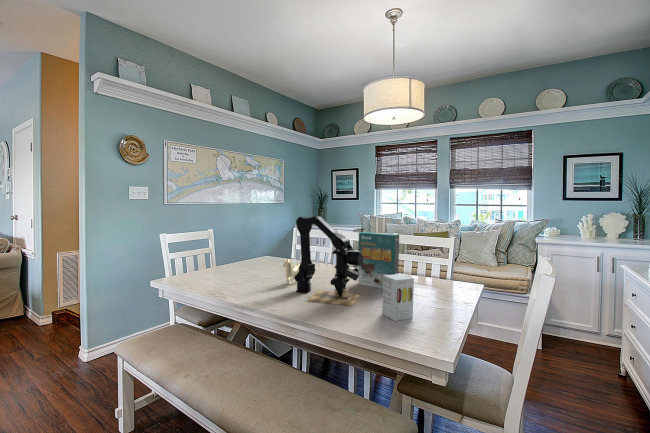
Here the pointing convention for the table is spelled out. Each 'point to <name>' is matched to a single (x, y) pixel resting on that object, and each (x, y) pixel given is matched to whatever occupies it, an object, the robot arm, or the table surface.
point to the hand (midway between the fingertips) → (341, 295)
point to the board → (333, 298)
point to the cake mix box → (378, 257)
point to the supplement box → (398, 297)
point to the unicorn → (291, 270)
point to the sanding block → (343, 293)
